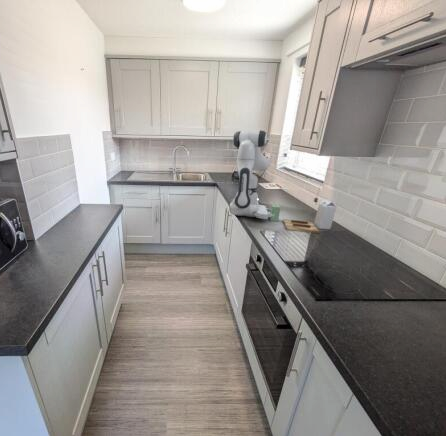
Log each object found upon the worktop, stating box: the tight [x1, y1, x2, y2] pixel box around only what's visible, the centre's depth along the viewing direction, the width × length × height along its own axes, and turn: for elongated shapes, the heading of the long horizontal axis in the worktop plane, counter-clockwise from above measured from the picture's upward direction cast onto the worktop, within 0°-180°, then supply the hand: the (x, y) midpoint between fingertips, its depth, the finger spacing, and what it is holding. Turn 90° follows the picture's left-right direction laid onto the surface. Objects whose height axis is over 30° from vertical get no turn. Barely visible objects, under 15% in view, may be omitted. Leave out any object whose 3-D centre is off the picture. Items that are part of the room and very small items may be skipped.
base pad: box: [282, 218, 320, 234], centre depth 148 cm, size 16×18×3 cm
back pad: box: [269, 204, 282, 222], centre depth 157 cm, size 4×5×10 cm
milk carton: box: [313, 197, 337, 230], centre depth 146 cm, size 7×7×19 cm
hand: (273, 213), depth 157 cm, fingers open, 8 cm apart
